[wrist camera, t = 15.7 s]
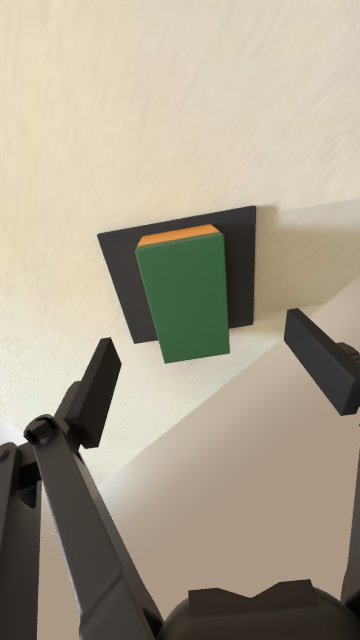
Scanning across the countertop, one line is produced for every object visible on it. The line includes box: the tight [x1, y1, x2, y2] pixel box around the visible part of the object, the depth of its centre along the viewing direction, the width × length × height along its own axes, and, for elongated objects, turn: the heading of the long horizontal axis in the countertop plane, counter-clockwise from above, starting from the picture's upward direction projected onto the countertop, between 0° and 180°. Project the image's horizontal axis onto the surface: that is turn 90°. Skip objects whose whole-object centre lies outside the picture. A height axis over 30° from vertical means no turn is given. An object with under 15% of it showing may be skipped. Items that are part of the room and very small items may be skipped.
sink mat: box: [97, 206, 256, 344], centre depth 25 cm, size 16×14×1 cm
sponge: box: [135, 224, 230, 363], centre depth 22 cm, size 12×7×6 cm, turn 9°
